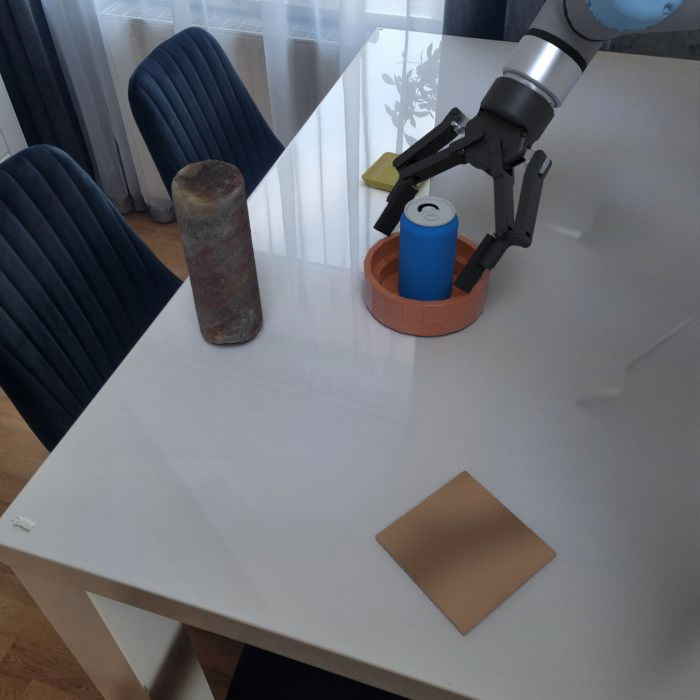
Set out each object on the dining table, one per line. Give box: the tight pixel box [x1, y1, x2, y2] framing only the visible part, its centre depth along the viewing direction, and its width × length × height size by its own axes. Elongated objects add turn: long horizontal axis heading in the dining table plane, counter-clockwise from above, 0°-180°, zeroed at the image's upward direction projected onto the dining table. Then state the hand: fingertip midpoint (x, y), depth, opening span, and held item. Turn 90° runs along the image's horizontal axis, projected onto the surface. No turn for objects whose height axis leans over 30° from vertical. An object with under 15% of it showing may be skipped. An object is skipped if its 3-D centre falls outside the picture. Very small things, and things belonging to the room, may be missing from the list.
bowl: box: [363, 231, 491, 337], centre depth 81 cm, size 15×15×5 cm
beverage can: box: [398, 195, 460, 301], centre depth 78 cm, size 6×6×12 cm
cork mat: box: [375, 470, 558, 637], centre depth 59 cm, size 11×11×1 cm
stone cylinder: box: [170, 158, 264, 345], centre depth 73 cm, size 8×7×20 cm
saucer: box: [360, 151, 423, 192], centre depth 101 cm, size 9×9×2 cm
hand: (418, 259), depth 78 cm, fingers open, 13 cm apart
